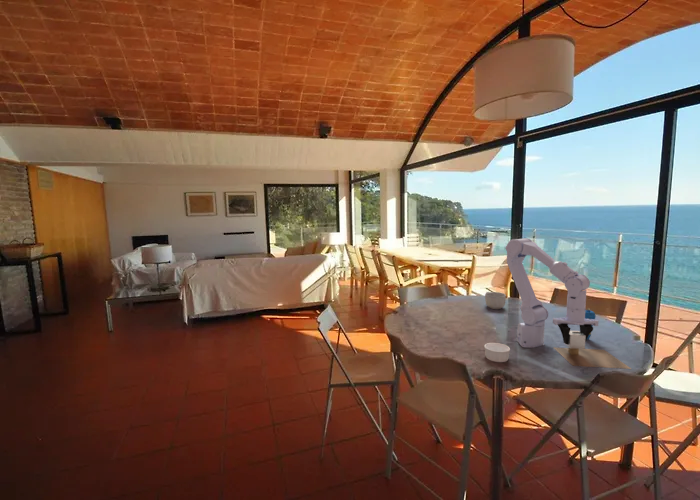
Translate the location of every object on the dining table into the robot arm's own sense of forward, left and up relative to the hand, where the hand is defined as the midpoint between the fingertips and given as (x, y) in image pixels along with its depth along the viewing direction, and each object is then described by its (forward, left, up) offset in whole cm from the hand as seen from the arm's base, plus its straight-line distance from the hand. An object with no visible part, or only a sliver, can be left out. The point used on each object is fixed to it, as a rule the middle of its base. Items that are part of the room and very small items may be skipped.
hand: (574, 343), depth 126 cm
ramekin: (-28, -4, -6) cm, 29 cm away
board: (+4, -3, -5) cm, 7 cm away
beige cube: (0, 0, -1) cm, 1 cm away
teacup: (-12, +67, -6) cm, 68 cm away
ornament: (+12, +16, -6) cm, 21 cm away
